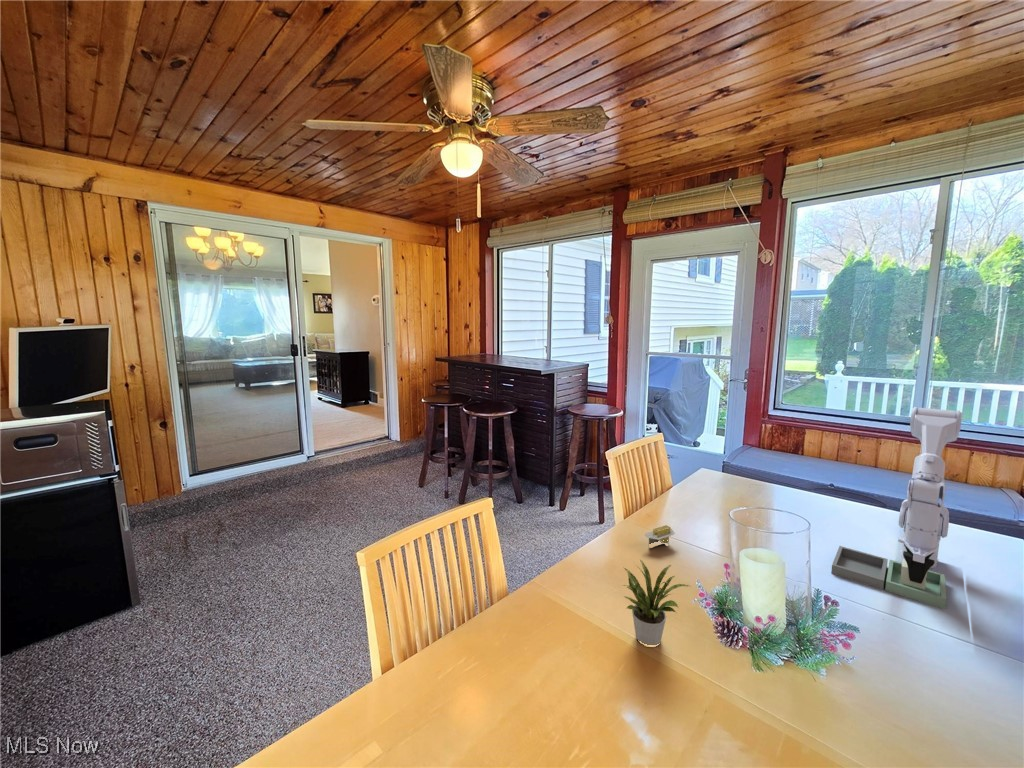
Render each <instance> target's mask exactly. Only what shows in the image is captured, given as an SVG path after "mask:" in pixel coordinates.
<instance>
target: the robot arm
mask: <svg viewBox="0 0 1024 768" xmlns="http://www.w3.org/2000/svg"><path fill="white" fill-rule="evenodd" d="M910 413H911V414H910V423H909V426H910V433H911V436H912V437H913V438H917V439H919V441H920V445H921V451H920V452H921V453H920V454H919V455H917V456H915V458H914V461H913V462H914V463H913V468H912V473H911V479H909V481H908V485H907V490H906V491H907V493H906V497H907V498H905V499H904V500H903V501H902V502H901V506H900V510H899V517H898V526H899V527H900V528H901V529H903V536H902V537H901V536H899V537H898V538H897V542H899V543H902V548H901V549H900V550H899V552H900V553H901V559H905V560H906V563H907V566H908V572H909V579H910V581H913V582H916V583H920V584H921V583H922V582H923V580H924V577H925V575H926V573H927V571H928V570H929V571H930V569H932V568H933V569H934V568H936V567H937V565H938V564H937V563H938V562H939V559H938V558H939V557H938V556H939V547H940V541H941V538H943V539H944V538H947V537H948V531H949V524H950V523H949V522H950V511H949V509H948V508H947V507H946V506H944V503H945V495H946V484H945V483H946V479H945V472H946V461H945V460H944V459H943V458H942V456H943V450H944V448H945V447H946V446H947V444H948V443H952V442H956V441H957V439H958V438H959V435H960V432H961V426H962V420H963V419H962V418H963V412H961V411H960V410H950V409H948V410H947V409H937V408H926V407H918V406H914V407H913V408H912V409H911V412H910ZM939 499H940V500H941V502H939Z"/></svg>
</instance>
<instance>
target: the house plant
mask: <svg viewBox="0 0 1024 768" xmlns="http://www.w3.org/2000/svg"><path fill="white" fill-rule="evenodd" d="M639 560H640V564H641V567H642V569H643V570H642V569H641V568H640V567H639V566H637V565H636V567H637V568H638V569H639V570H640V572H641V573H642V574H643V575H642V576H643V577H644V580H645V586H646V592H645V590H644V588H643V587H642V586H641V584H640V581H639V580H638V579H637V577H636V576H635V575H634V574H633V573H632V572H631V571H630V570H629V569H627V568H625V567H624V566H623V569H624V571H626V573H627V576H628V579H627V580H628V585H626V584H624V585H622V586H624V587H626V588H628V589H629V590H631V592H632V593H633V596H634V597H635V598H634V599H633V598H632V597H629V596H626V595H625V596H623V597H624V598H625V599H627V600H629V601H630V602H631V603H633V604H634V605H633V604H629V605H628V606H627V607H626V609H628V610H631V613H632V619H633V626H634V632H635V633H634V634H635V638H636V637H637V639H638V640H639V641H641V642H642V643H644V644H647V645H657V644H659V643H660V642H662V637H663V633H664V629H665V624H666V618H667V614H666V612H674V613H677V612H676V610H675V609H674V608H673V607H675V608H676V607H677V608H679V606H678V604H677V602H676V601H675V600H672V599H671V600H667V601H665V602H663V603H662V604H660V603H661V601H662V600H663V599H665V598H667V597H668V596H669V595H670V596H671V595H674V593H670V592H671V591H673V590H675V589H677V588H681V587H690V585H689V584H685V583H678V584H673V585H672V586H670V583H671V581H672V579H673V578H675V577H676V576H675V575H673V576H670V577H668V579H667V580H666V581H663V579H664V578H665V575H666V574H667V572H668V570H669V569H670V568H671V567H672V564H669V565H667V566H666V567H664V568H663V569H662V570H661V572H660V573H659V575H658V576H657V578H656V581H655V585H654V587H652V577H651V575H650V571H649V569H648V567H647V566H646V564H645V563H644V562H643V560H642V559H639ZM662 581H663V582H662ZM662 584H663V586H662V587H661V585H662ZM668 586H670V587H669V588H667V587H668ZM646 593H647V594H646ZM669 593H670V594H669ZM635 599H636V600H635ZM659 605H660V606H659ZM637 639H636V640H637ZM660 644H661V643H660Z"/></svg>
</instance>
